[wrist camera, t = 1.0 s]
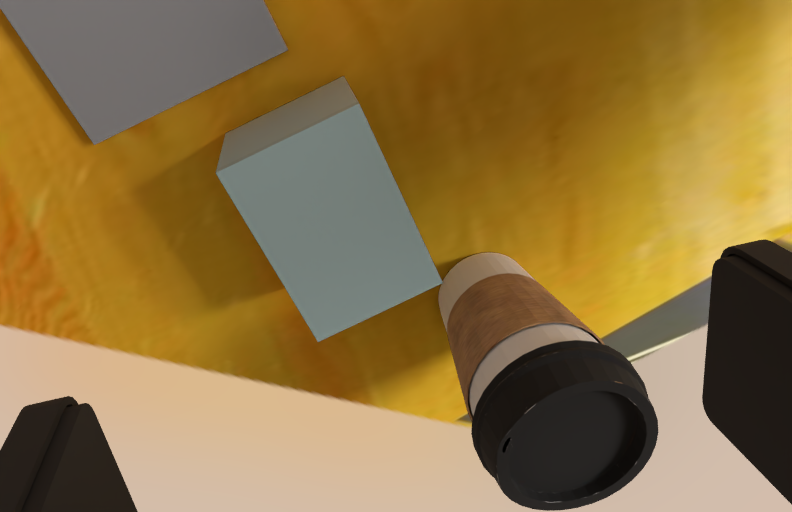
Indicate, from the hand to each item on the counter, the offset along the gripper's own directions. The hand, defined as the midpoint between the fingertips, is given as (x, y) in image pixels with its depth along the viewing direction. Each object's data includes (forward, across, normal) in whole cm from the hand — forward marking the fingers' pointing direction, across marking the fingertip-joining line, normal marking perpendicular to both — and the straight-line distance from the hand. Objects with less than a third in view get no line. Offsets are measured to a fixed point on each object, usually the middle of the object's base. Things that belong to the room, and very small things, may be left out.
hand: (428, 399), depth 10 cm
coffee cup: (+28, -8, +15) cm, 33 cm away
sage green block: (+28, 0, +6) cm, 28 cm away
